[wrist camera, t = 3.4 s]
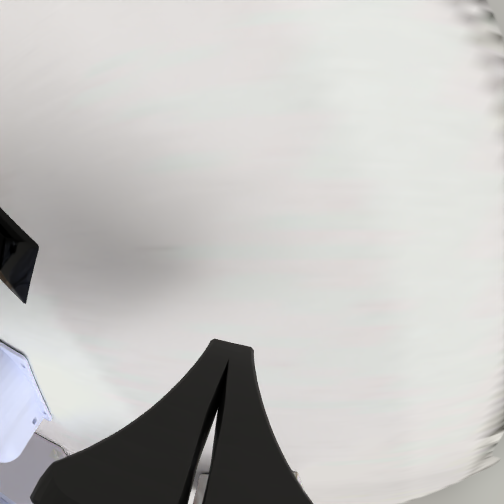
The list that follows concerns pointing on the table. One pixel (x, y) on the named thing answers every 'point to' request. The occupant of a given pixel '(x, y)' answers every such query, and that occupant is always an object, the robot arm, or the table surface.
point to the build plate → (16, 257)
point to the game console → (28, 469)
